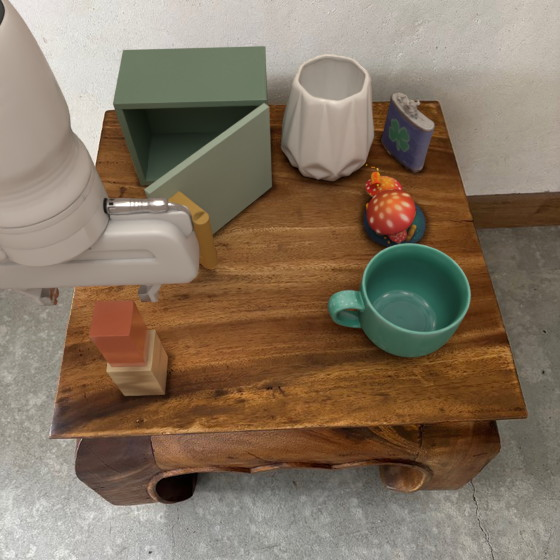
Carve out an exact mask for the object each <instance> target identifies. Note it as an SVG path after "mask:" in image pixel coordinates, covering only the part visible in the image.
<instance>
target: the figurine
mask: <svg viewBox="0 0 560 560" xmlns="http://www.w3.org/2000/svg"><path fill="white" fill-rule="evenodd" d="M365 167H368V164H367V163H365ZM371 169H376V171H372V173H371V175H370V178H369V179H367V181H366V182H365V191H366V193H367V194H368V195H369V196H370V197H372V198H371V199H370V200H369V202H367V203H366V204H365V207H366V209H365V210H364V213H363V220H362V221H363V227H364V228H363V229H364V230H365V232H366V234H367V236H368V237H369V238H370V239H371V240H372V241H373V242H374V243H376V244H378V245H381V246H384V247H386V248H388V247H391V246H394V245H398V244H406V243H414V244H418V243H419V242H420V241H421V240H422V238H423V236H424V234H425V231H426V228H427V223H426V217H425V215H424V212H423V211H422V209H421V208H420V207H419V206H418V205H417V204H416V203H415V201H414V198H412V196H411V195H410V193H409V192H407V191H406V190H403V186H402V184H401V183H400V182H399V180H397V179H396V178H394V177H391V176H387V175H381V173H380V172H379V167H377V168H376V167H375V166H371Z"/></svg>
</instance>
